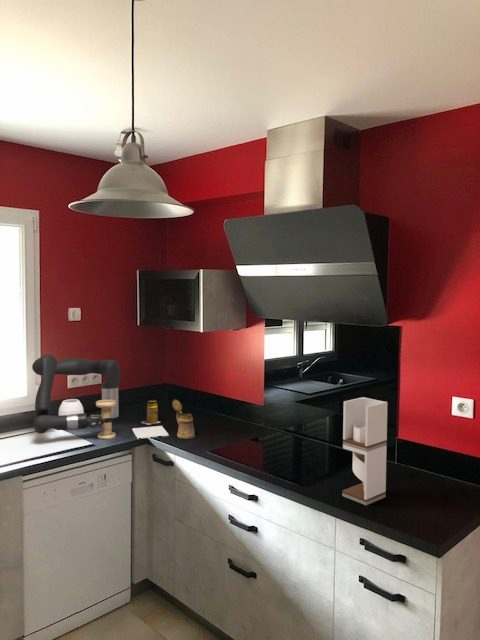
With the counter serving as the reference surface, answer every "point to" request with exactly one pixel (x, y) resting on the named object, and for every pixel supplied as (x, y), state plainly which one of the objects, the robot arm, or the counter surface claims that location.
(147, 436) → the mat
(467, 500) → the counter surface
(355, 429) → the display case
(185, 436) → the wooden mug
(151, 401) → the condiment
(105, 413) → the wooden spool
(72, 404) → the white faceted vase
